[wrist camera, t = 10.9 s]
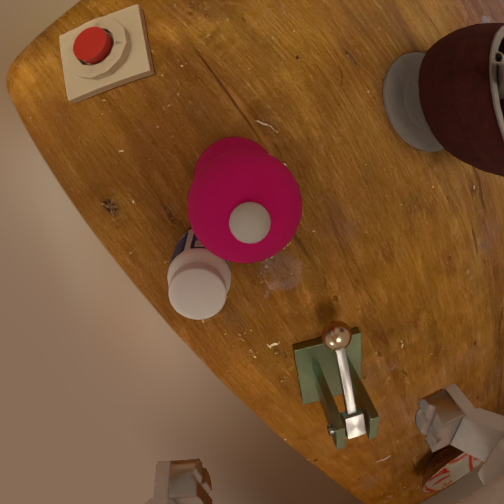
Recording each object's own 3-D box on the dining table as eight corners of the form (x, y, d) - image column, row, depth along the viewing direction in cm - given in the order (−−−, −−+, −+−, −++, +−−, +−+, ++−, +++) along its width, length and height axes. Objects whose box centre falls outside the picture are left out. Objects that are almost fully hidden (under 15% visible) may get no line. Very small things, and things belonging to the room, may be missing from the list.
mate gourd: (465, 66, 28) (587, 59, 10) (461, 166, 33) (586, 206, 14) (364, 29, 27) (485, -35, 8) (359, 146, 31) (498, 172, 13)
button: (82, 68, 23) (75, 65, 21) (78, 39, 21) (70, 35, 20) (114, 55, 23) (108, 51, 21) (109, 26, 21) (103, 21, 20)
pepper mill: (281, 184, 32) (362, 254, 14) (221, 219, 33) (223, 333, 14) (246, 123, 30) (286, 104, 11) (184, 161, 30) (127, 201, 12)
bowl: (406, 483, 65) (415, 503, 57) (417, 446, 56) (429, 470, 48) (474, 446, 65) (485, 463, 57) (496, 400, 55) (511, 419, 48)
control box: (76, 102, 27) (59, 100, 23) (67, 40, 24) (51, 32, 20) (155, 74, 27) (146, 66, 23) (142, 10, 24) (133, -3, 20)
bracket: (292, 344, 40) (316, 418, 28) (357, 326, 40) (398, 391, 28) (301, 398, 44) (321, 466, 32) (357, 382, 44) (388, 444, 32)
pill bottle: (191, 282, 35) (182, 334, 26) (166, 238, 33) (147, 279, 24) (237, 262, 35) (244, 310, 26) (215, 216, 33) (213, 250, 24)
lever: (315, 324, 35) (321, 326, 32) (343, 316, 35) (352, 317, 32) (337, 431, 33) (344, 442, 30) (363, 423, 33) (372, 433, 30)
